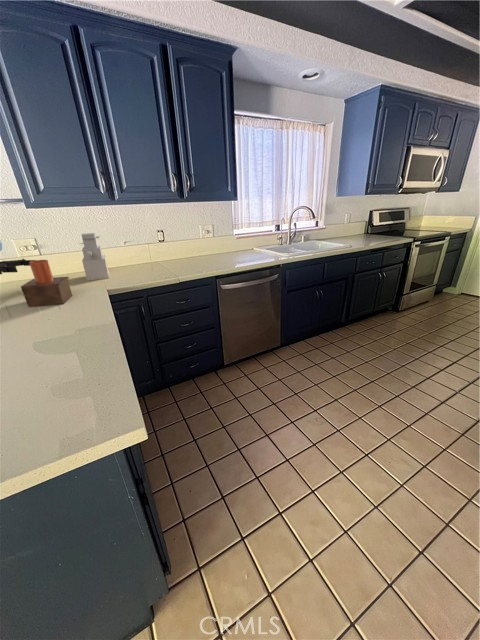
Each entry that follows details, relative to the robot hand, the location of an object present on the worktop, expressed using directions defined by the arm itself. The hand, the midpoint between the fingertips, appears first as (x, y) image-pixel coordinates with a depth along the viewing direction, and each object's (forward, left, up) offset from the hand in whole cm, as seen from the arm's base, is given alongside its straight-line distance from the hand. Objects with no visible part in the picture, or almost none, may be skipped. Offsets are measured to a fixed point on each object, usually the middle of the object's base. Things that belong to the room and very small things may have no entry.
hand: (26, 265), depth 129 cm
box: (+6, -3, -19) cm, 20 cm away
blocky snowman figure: (+30, +37, -19) cm, 51 cm away
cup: (+6, -3, -8) cm, 10 cm away
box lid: (+6, -3, -9) cm, 11 cm away
